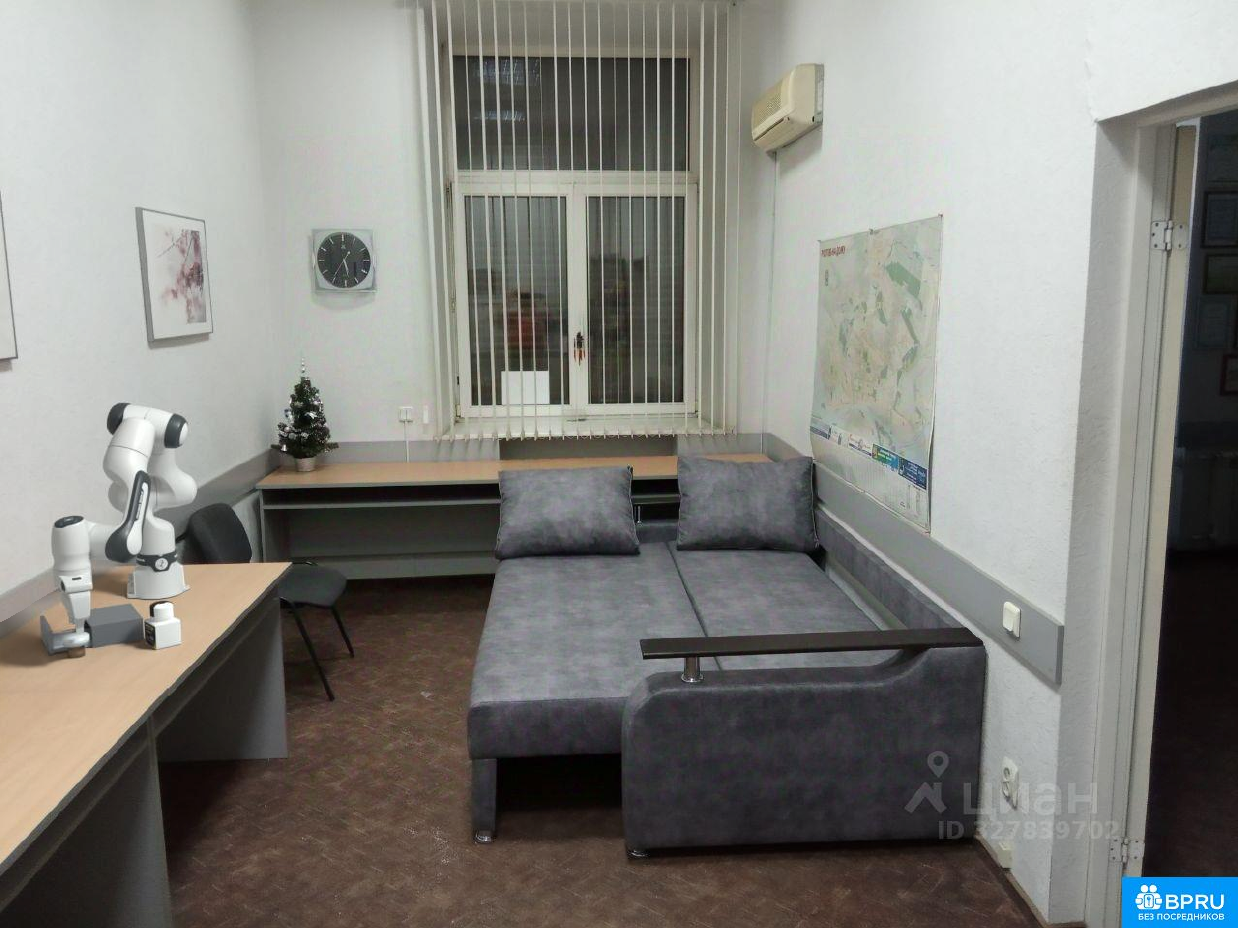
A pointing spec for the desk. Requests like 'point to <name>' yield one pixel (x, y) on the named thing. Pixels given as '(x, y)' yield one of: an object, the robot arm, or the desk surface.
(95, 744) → the desk surface
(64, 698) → the desk surface
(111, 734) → the desk surface
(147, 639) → the medicine bottle
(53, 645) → the tray
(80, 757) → the desk surface
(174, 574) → the robot arm
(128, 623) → the housing
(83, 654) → the brown rounded piece
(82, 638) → the disc
